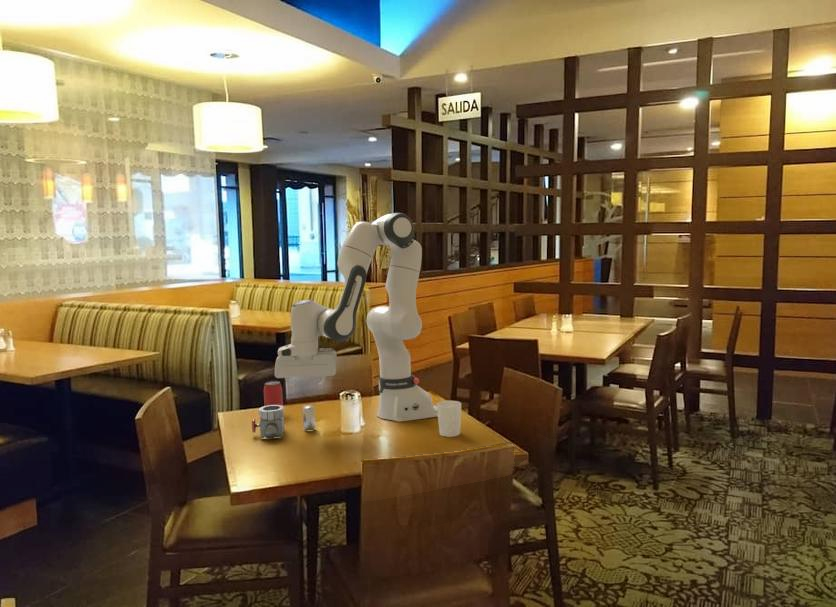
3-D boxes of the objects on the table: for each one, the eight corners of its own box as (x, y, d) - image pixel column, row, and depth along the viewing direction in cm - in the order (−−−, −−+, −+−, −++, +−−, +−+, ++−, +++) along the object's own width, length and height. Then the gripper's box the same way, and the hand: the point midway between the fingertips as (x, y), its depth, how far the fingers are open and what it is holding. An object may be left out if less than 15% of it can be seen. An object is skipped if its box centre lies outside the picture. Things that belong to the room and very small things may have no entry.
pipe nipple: (315, 427, 217) (314, 404, 216) (315, 431, 213) (314, 408, 212) (303, 428, 216) (302, 405, 215) (303, 432, 212) (302, 408, 211)
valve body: (285, 427, 218) (284, 401, 217) (283, 440, 204) (282, 413, 203) (255, 429, 217) (253, 404, 216) (251, 443, 203) (249, 415, 202)
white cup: (460, 438, 201) (459, 407, 200) (435, 437, 203) (434, 406, 202) (463, 430, 209) (462, 400, 208) (439, 429, 210) (439, 400, 209)
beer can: (281, 417, 231) (279, 384, 229) (263, 417, 231) (261, 385, 229) (285, 411, 237) (283, 380, 236) (267, 412, 237) (265, 380, 236)
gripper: (335, 346, 216) (337, 386, 217) (274, 348, 213) (275, 389, 214) (336, 349, 210) (337, 390, 211) (273, 351, 207) (274, 393, 208)
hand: (306, 389), depth 213 cm, fingers open, 8 cm apart
